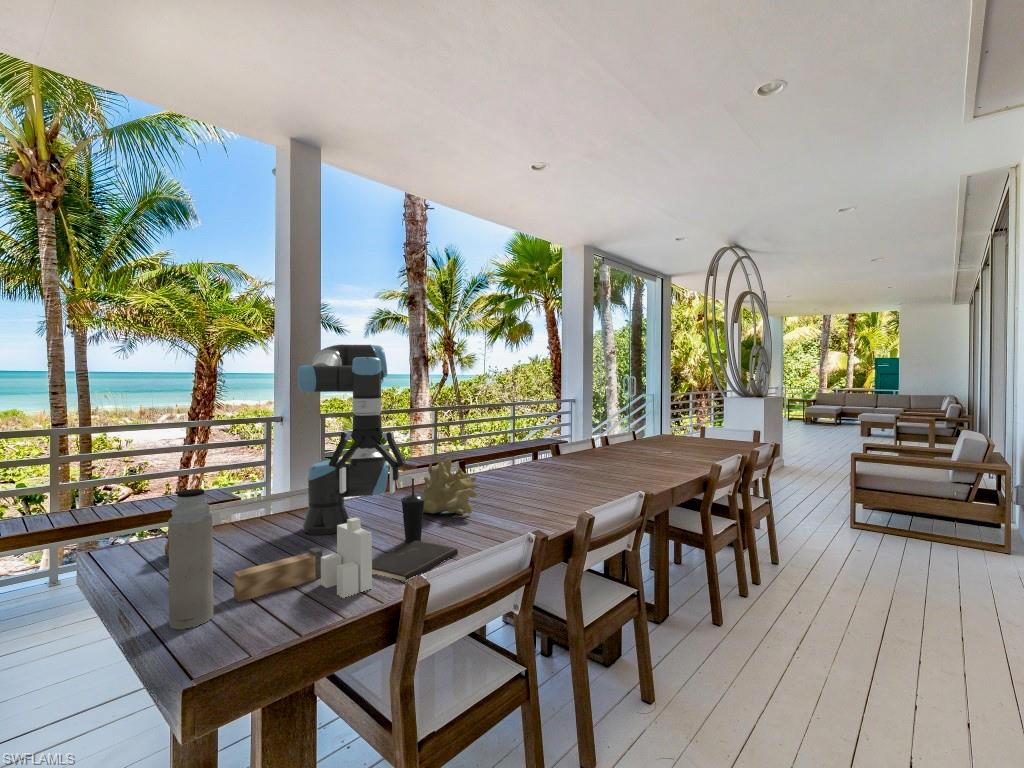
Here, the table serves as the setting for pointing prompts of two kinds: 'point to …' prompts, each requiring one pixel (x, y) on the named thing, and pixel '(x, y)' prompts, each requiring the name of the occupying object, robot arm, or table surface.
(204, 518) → the thermos bottle
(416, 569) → the hardcover book
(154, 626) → the table surface
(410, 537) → the drinking cup
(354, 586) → the white block with nub
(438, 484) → the decorative coral
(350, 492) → the robot arm
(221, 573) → the table surface
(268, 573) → the tan piece
